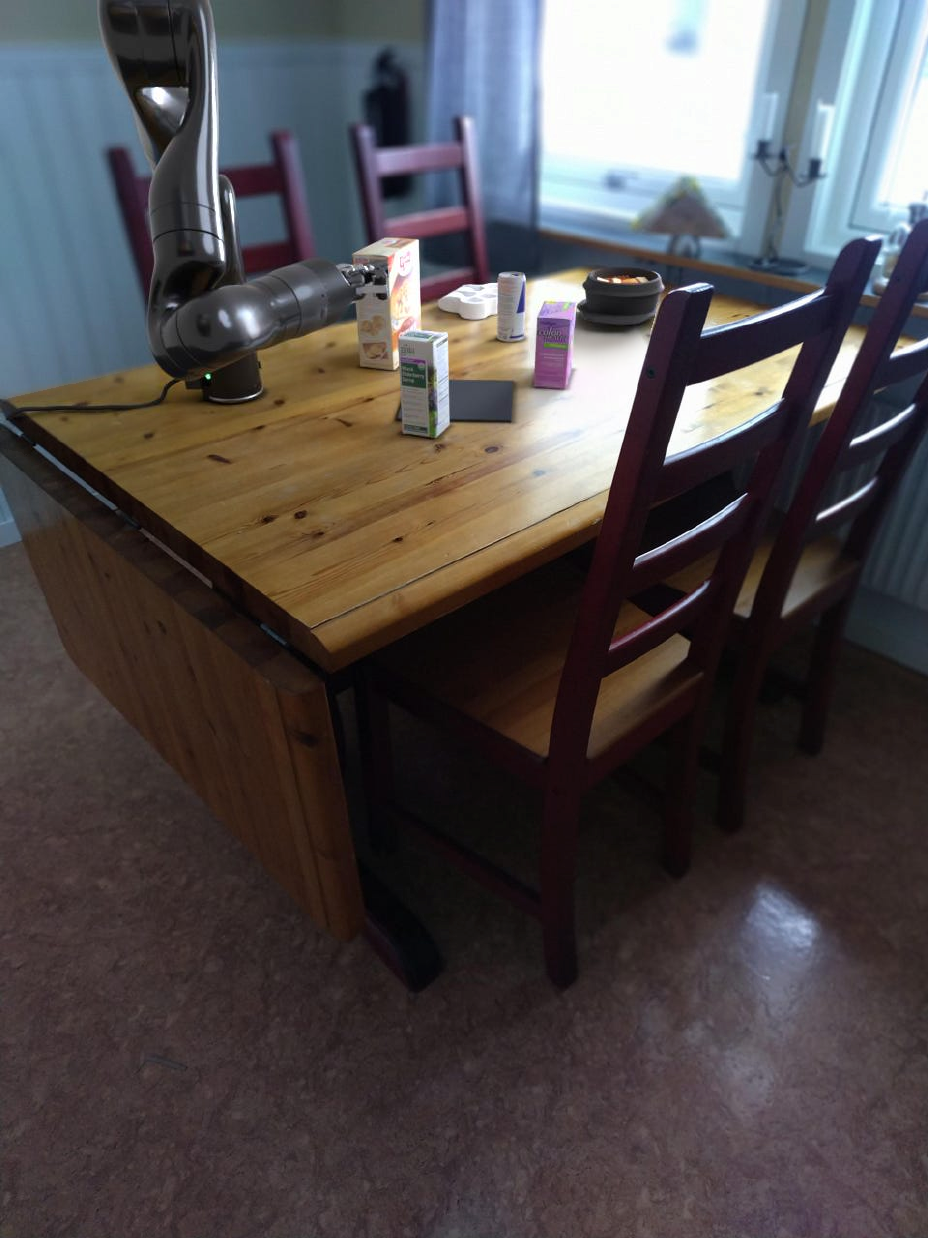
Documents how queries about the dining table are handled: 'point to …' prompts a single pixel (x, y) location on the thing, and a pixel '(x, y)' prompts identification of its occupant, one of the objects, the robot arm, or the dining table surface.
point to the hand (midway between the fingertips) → (383, 268)
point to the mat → (479, 401)
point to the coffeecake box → (389, 302)
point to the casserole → (621, 295)
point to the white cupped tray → (472, 301)
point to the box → (554, 344)
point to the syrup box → (424, 382)
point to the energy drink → (511, 306)
